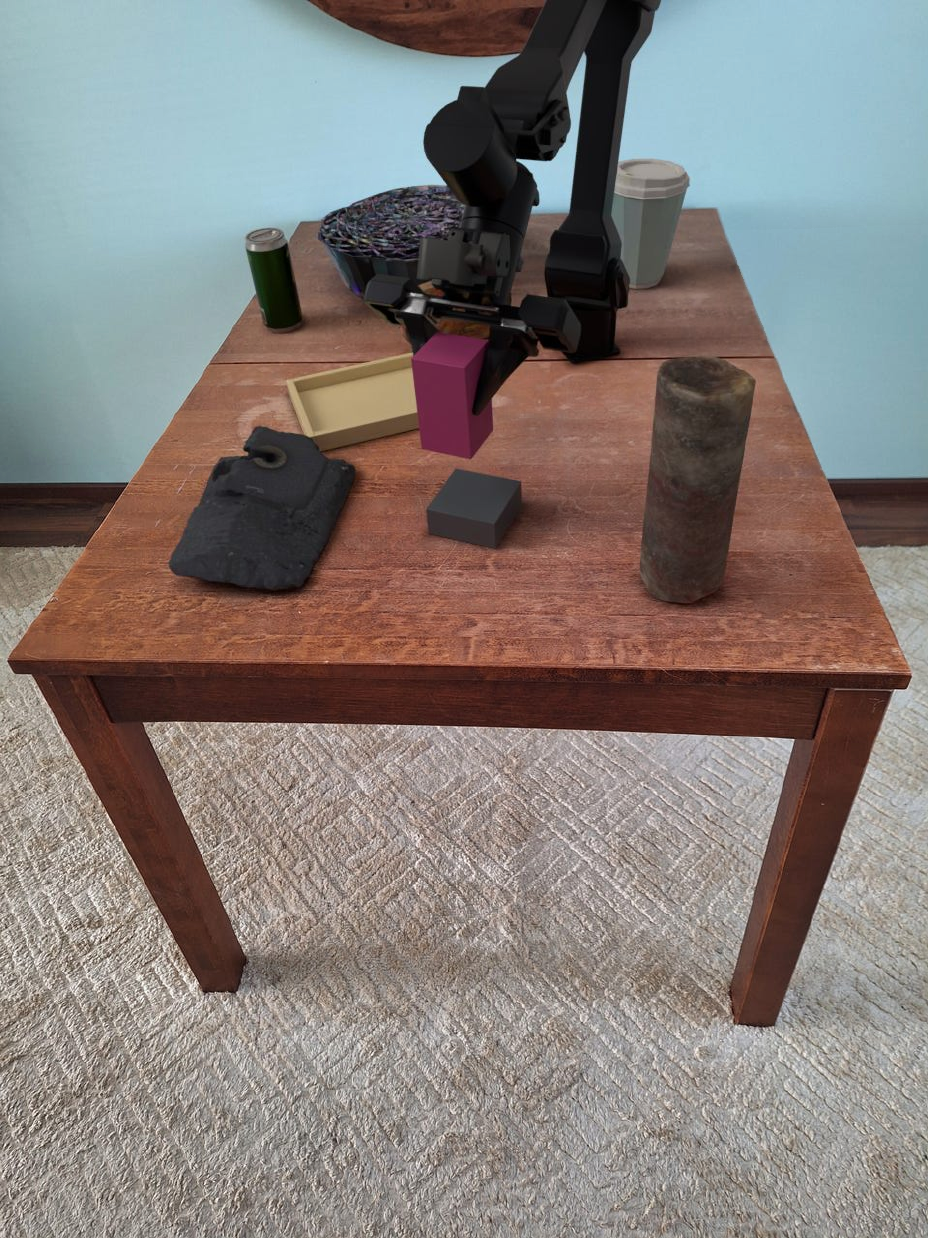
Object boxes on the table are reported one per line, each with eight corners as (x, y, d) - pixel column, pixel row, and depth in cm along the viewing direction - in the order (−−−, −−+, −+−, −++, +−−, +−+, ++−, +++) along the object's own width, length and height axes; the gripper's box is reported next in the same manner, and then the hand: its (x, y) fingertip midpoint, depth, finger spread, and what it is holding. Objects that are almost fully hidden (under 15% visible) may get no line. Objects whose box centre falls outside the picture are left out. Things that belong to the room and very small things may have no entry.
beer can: (274, 337, 115) (253, 246, 107) (258, 323, 119) (236, 234, 110) (310, 325, 117) (292, 235, 109) (293, 312, 121) (274, 223, 112)
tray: (428, 364, 108) (426, 348, 106) (463, 417, 98) (461, 401, 97) (289, 395, 104) (285, 379, 103) (311, 453, 95) (307, 437, 93)
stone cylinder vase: (629, 553, 80) (647, 351, 66) (708, 545, 80) (743, 342, 66) (649, 610, 74) (673, 403, 60) (733, 601, 74) (778, 393, 60)
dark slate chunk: (147, 590, 80) (129, 551, 77) (229, 456, 96) (217, 418, 92) (305, 600, 78) (294, 560, 74) (363, 461, 93) (356, 422, 90)
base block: (457, 492, 88) (455, 467, 86) (522, 505, 86) (521, 481, 84) (428, 533, 84) (425, 508, 81) (495, 548, 81) (494, 523, 79)
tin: (409, 362, 108) (402, 297, 102) (399, 352, 110) (391, 287, 104) (514, 330, 113) (512, 265, 107) (502, 321, 115) (499, 257, 109)
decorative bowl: (295, 308, 126) (277, 240, 118) (400, 226, 140) (390, 161, 133) (443, 342, 115) (433, 271, 108) (540, 250, 130) (537, 181, 122)
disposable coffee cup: (631, 258, 126) (639, 145, 116) (694, 276, 121) (709, 160, 110) (585, 283, 121) (590, 168, 111) (649, 303, 116) (660, 184, 105)
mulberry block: (445, 420, 82) (436, 331, 76) (493, 430, 80) (489, 339, 74) (421, 449, 79) (410, 358, 73) (471, 459, 77) (464, 367, 71)
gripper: (356, 176, 71) (310, 364, 72) (572, 196, 64) (520, 402, 65) (410, 237, 81) (370, 401, 82) (601, 259, 75) (555, 436, 76)
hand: (447, 409), depth 76 cm, fingers closed on mulberry block, 5 cm apart
